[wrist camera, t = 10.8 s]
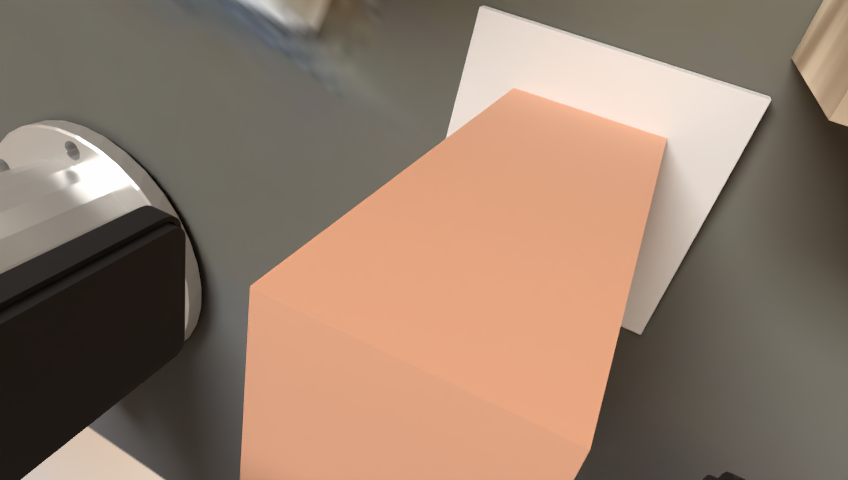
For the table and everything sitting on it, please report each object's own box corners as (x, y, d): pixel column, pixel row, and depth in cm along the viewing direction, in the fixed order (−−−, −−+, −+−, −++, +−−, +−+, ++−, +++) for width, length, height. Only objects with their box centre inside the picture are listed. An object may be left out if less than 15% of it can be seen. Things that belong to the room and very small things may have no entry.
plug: (607, 269, 18) (485, 643, 9) (476, 217, 20) (239, 496, 10) (666, 138, 16) (590, 448, 6) (513, 87, 17) (249, 286, 8)
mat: (641, 328, 19) (640, 334, 19) (424, 234, 21) (420, 238, 21) (770, 96, 15) (770, 100, 15) (484, 5, 17) (479, 6, 17)
